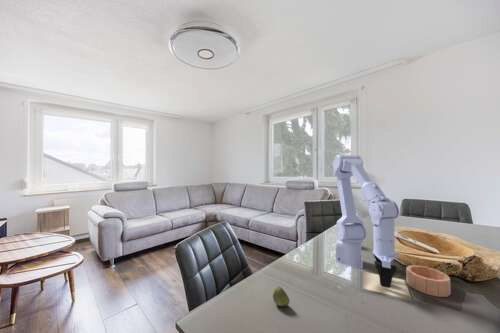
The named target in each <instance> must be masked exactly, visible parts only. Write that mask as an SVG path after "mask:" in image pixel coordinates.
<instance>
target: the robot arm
mask: <svg viewBox="0 0 500 333" xmlns="http://www.w3.org/2000/svg"><path fill="white" fill-rule="evenodd" d="M332 169H333V175H334V176H335V178H336V183H337V190H338V197H339V202H340V203H339V204H340V209H341V215H342V216H341V217H340V218H339V219H337V221H336V232H337V233H336V237H337V236H338V238H339V239H338V238H336V241H335V264H339V265H343V266H347V267H353V268H359V269H363V268H364V261H363V259H362V258H363V257H362V254H363V253H362V244H363V243H364V240H365V239H367V230H366V228H365V225H364V222H363V219H361V218H360V217H358V216H357V212H356V207H355V202H354V201H355V200H354V196H353V191H352V190H353V189H352V183H351V178H352V177H353V176H354V178H355V179H356V181H357V182H358V183H359V185H360V186H361V188H360V193H361V194H362V196H363V198H364V199H365V201H366V202H367V204H368V206H369V208H368V209H367V210H368V214H369V215H370V218H371V219H370V220H371V224H372V225H373V227H372V228H373V229H372V230H373V231H372V232H373V233H372V234H373V235H372V236H373V237H372V238H373V239H372V242H373V249H372V255H373V257H374V259H375V260H374V266H375V268H376V270H377V273H378V275H379V277H380V282H381V285H382V286H383V287H388V288H390V285H391V281H392V278H394V277H393V276H394V275H395V273H396V272H397V269H398V266H396V265H394V264H393V265H392V262H393V261H394V260H395V259H396V258H398V259H399V258H400V257H401V256H400V253H397V252H396V250H395V249H396V247H395V245H396V241H395V240H396V239H395V238H396V236H395V235H396V234H395V232H396V231H395V230H396V229H395V219H397V218H398V217H399V215H400V209H399V206H398V204H397V203H396V202H395V201H394V200H391V199H390V198H388V197H387V196H386V194H385V193H384V192H383V191H382V189H381V187H380V186H379V185H378V183H377V182H373V181H372V180H371V179H370V177H369V175H368V174H367V172H366V170H365V168H364V160H363V159H362V157H361V155H360V154H336V155H335V156H334V158H333V160H332Z"/></svg>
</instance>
